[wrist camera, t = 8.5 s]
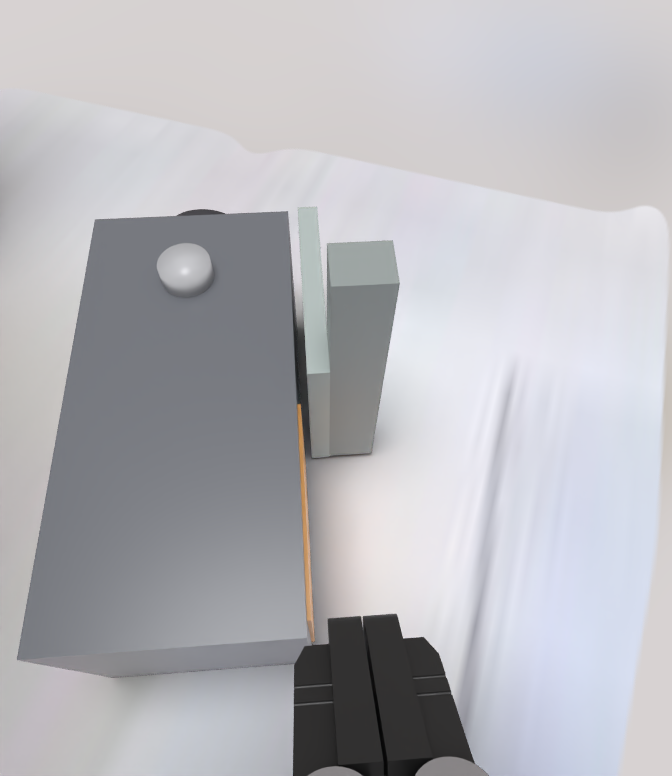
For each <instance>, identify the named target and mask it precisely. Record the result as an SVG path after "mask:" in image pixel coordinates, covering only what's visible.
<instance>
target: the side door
mask: <svg viewBox="0 0 672 776" xmlns="http://www.w3.org/2000/svg"><path fill="white" fill-rule="evenodd" d="M298 223H299V240H300V258H301V276H302V294H303V312H304V330H305V348H306V366H307V383H308V400H309V418H310V435H311V452H312V458H321V457H329V456H331V455H348V454H364V453H371V451H372V445H373V439H374V433H375V427H376V421H377V416H378V410H379V404H380V398H381V392H382V386H383V380H384V374H385V368H386V362H387V356H388V350H389V344H390V338H391V332H392V326H393V320H394V314H395V308H396V302H397V296H398V290H399V284H400V282H399V276H398V270H397V264H396V257H395V251H394V245H393V240H392V241H370V242H348V243H327V327H326V315H325V302H324V289H323V276H322V264H321V251H320V238H319V225H318V213H317V207H299V208H298Z"/></svg>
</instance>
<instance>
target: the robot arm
mask: <svg viewBox="0 0 672 776" xmlns="http://www.w3.org/2000/svg"><path fill="white" fill-rule="evenodd" d="M328 636H329V644H324V645H311V646H304V648H303V650H302V652H301V654H300V655H299V657H298V659H297V661H296V663H295V665H294V746H293V776H489V775H488V774H487V773H486V772H485V771H484V770H483V769H481V768H480V767H479V766H477V765H476V764H475V763H474V760H473V758H472V755H471V752H470V748H469V745H468V742H467V739H466V736H465V733H464V730H463V727H462V724H461V721H460V718H459V714H458V711H457V708H456V705H455V702H454V699H453V696H452V695H451V690H450V687H449V684H448V680H447V678H446V676H445V671H444V668H443V665H442V662H441V659H440V656H439V653H438V652H437V651H436V650H435V649H434V648H433V647H432V646H431V645H430V644H429V643H428V641H427V640H426V639H425V638H424V637H419V638H405V639H403V637H402V633H401V629H400V625H399V621H398V617H397V614H386V615H372V616H363V627H362V621H361V616H357V617H343V618H330V619H328Z"/></svg>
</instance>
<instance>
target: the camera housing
mask: <svg viewBox="0 0 672 776" xmlns="http://www.w3.org/2000/svg"><path fill="white" fill-rule="evenodd" d="M312 642H315V638H314V618H313V598H312V578H311V558H310V538H309V518H308V499H307V479H306V461H305V449H304V437H303V425H302V413H301V402H300V382H299V361H298V340H297V322H296V309H295V296H294V283H293V270H292V257H291V244H290V231H289V218H288V211H286V212H262V213H238V214H225V213H222V212H219V211H214V210H206V209H198V210H191V211H186V212H183V213H181V214H179V215H177V216H167V217H143V218H120V219H96V220H95V222H94V228H93V234H92V239H91V245H90V251H89V256H88V262H87V267H86V273H85V279H84V284H83V290H82V296H81V301H80V307H79V313H78V318H77V324H76V329H75V335H74V341H73V346H72V352H71V358H70V363H69V369H68V374H67V380H66V386H65V391H64V397H63V403H62V408H61V414H60V419H59V425H58V431H57V436H56V442H55V448H54V453H53V459H52V465H51V470H50V476H49V481H48V487H47V493H46V498H45V504H44V510H43V515H42V521H41V526H40V532H39V538H38V543H37V549H36V555H35V560H34V566H33V572H32V577H31V583H30V588H29V594H28V600H27V605H26V611H25V617H24V622H23V628H22V633H21V639H20V645H19V650H18V656H17V660H19V661H25V662H30V663H36V664H41V665H47V666H52V667H58V668H63V669H68V670H74V671H79V672H85V673H90V674H96V675H101V676H107V677H112V678H116V677H129V676H141V675H154V674H167V673H179V672H192V671H205V670H218V669H230V668H243V667H256V666H269V665H281V664H294V663H296V661H297V659H298V657H299V655H300V654H301V652H302V650H303V648H304V646H311V645H312Z"/></svg>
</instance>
